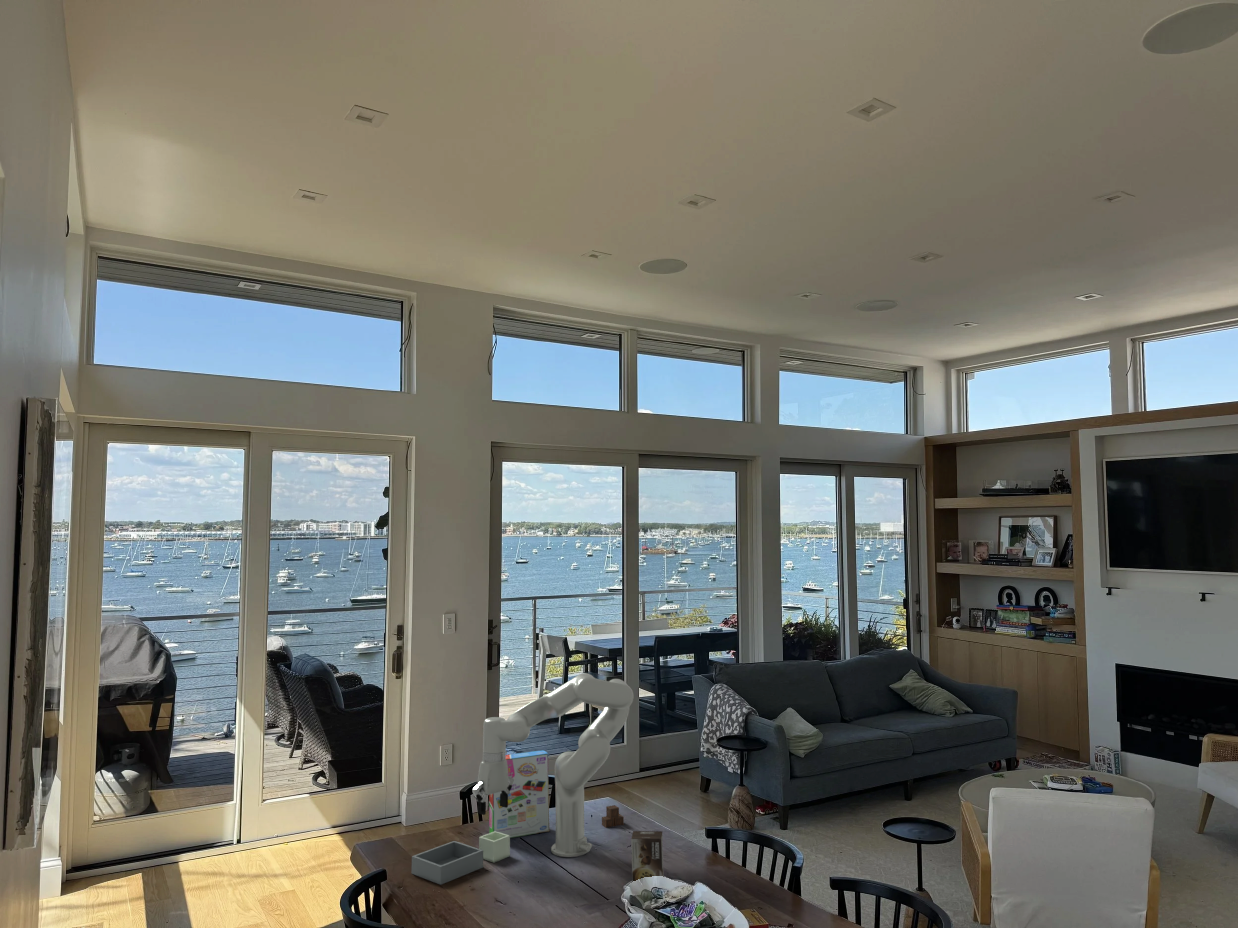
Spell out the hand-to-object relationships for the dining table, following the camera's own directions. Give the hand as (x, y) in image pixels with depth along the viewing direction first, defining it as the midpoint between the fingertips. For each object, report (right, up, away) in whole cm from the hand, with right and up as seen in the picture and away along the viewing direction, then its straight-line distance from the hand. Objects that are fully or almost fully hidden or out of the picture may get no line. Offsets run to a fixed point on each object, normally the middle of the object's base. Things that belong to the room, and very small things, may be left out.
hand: (492, 810), depth 275 cm
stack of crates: (+40, -18, +27) cm, 51 cm away
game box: (+6, -17, +20) cm, 27 cm away
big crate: (-12, -14, -12) cm, 22 cm away
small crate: (+1, -15, -1) cm, 15 cm away
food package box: (+50, -12, -29) cm, 59 cm away
